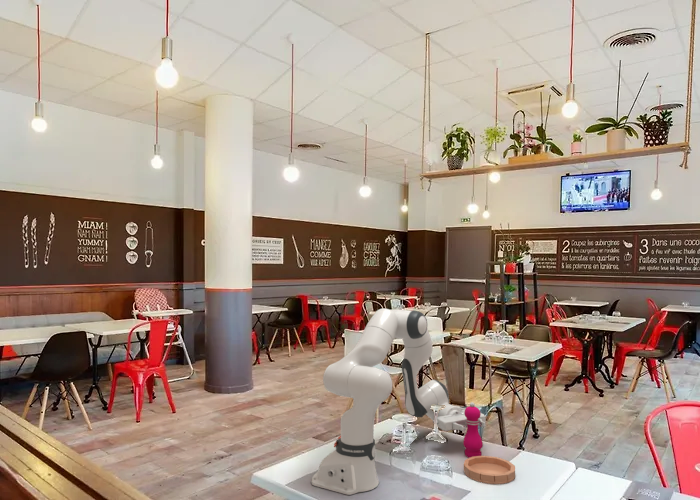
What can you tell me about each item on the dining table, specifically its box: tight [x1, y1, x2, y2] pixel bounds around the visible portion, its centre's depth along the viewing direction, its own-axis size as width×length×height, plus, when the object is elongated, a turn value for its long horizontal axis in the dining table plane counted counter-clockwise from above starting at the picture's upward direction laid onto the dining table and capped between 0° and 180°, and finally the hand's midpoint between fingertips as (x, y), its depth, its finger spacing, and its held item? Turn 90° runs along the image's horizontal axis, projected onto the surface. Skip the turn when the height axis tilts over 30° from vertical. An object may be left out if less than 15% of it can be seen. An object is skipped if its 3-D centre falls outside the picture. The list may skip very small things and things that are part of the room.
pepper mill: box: [462, 401, 484, 458], centre depth 187 cm, size 7×7×20 cm
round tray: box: [463, 455, 516, 485], centre depth 170 cm, size 17×17×3 cm
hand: (474, 426), depth 186 cm, fingers open, 8 cm apart
